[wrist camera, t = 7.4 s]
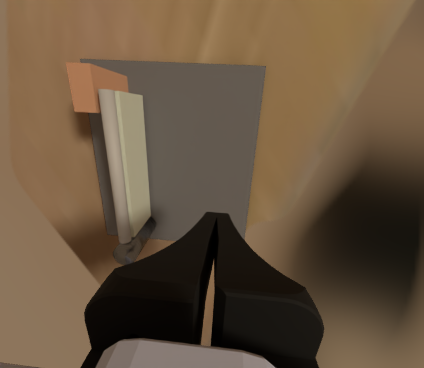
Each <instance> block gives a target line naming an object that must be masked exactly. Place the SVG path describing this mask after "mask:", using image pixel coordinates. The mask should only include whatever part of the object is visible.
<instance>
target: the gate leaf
mask: <svg viewBox="0 0 424 368" xmlns="http://www.w3.org/2000/svg"><path fill="white" fill-rule="evenodd" d="M98 94H99V101H100V108H101V115H102V123H103V130H104V137H105V144H106V151H107V158H108V165H109V173H110V180H111V187H112V194H113V201H114V208H115V215H116V222H117V230H118V237H119V242H120V243H122V244H125V243H128V242H130V241H131V237H135V236H136V235H137V233H138V232H139V231H140V229H141V228H142V227H143V225H144V224H145V223H146V221H147V220H148V219H149V217H150V216H151V210H150V195H149V181H148V167H147V153H146V139H145V124H144V110H143V96H142V95H138V94H132V93H127V92H122V91H115V90H109V89H98Z"/></svg>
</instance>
